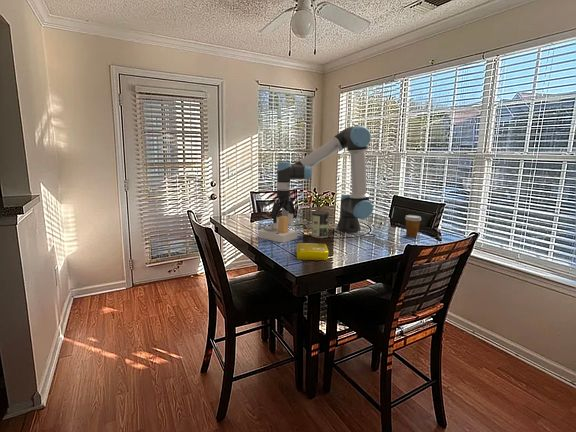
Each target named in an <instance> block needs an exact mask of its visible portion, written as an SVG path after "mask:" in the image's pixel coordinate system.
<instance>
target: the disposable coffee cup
mask: <svg viewBox="0 0 576 432" xmlns="http://www.w3.org/2000/svg"><path fill="white" fill-rule="evenodd" d="M404 219H405V233H406V236H407V237H411V238H412V237H413V238H416V237H418V233H419V229H420V226H421V221H422V217H421V216H420V215H414V214H408V215H407V214H406V215H405V217H404Z"/></svg>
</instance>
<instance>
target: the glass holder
mask: <svg viewBox="0 0 576 432" xmlns="http://www.w3.org/2000/svg"><path fill="white" fill-rule="evenodd" d="M297 206H298V204H296V205H294V208H295V211H296V209H297ZM299 206H300V208H302V206H301V205H299ZM292 210H293V209H292ZM299 210H300V211H299V213H298V214H297V216H296V217H295V218H293V219H292V225H289V224H288V227H292V226H294V221H295V220H296V219H297V218H298V217H299V216H300V215H301V212H302V209H299ZM288 213H289V212H288V210H287V208H286V206H283V207H282V208H281V216H287V217H288Z"/></svg>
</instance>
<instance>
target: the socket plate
mask: <svg viewBox="0 0 576 432" xmlns="http://www.w3.org/2000/svg"><path fill="white" fill-rule="evenodd" d="M298 233H299V232H298V230H294V229H289V228H288V232H287V233H284V234H283V233H278V230H275V231H269V230H264V228H263V229H260V230H258V238H260V239H263V240H267V241H269V240H270V241H273V242H277V243H281V244H284V243H287V242H290V241H293V240H296V239H298V237H299V235H298Z"/></svg>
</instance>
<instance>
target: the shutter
mask: <svg viewBox="0 0 576 432" xmlns="http://www.w3.org/2000/svg"><path fill="white" fill-rule="evenodd" d="M263 229H264V230H269V231H275V230H278V229H275V228H273V223H271V225H269V226H265V227H263Z"/></svg>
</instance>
